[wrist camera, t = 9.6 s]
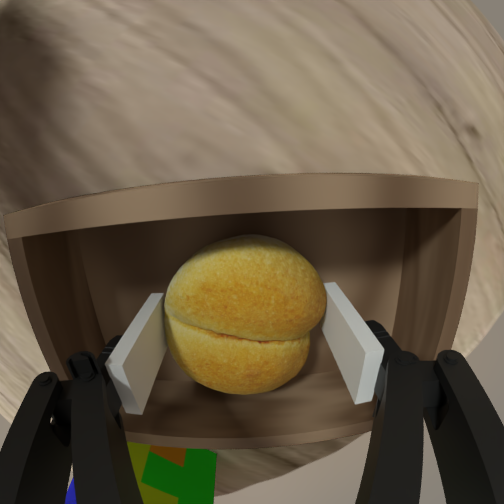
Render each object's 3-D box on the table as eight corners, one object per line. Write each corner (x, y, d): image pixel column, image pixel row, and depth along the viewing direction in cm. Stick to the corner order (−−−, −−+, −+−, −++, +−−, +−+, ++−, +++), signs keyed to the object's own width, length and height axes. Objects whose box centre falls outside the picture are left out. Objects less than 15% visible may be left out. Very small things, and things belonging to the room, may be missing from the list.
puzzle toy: (90, 437, 22) (61, 505, 12) (125, 403, 20) (88, 494, 11) (166, 478, 24) (153, 545, 14) (216, 453, 22) (211, 540, 13)
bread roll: (334, 248, 15) (362, 274, 11) (288, 376, 17) (297, 420, 14) (182, 213, 14) (160, 229, 10) (163, 353, 17) (146, 395, 13)
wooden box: (112, 381, 19) (85, 433, 14) (65, 198, 15) (3, 215, 10) (392, 364, 19) (424, 414, 14) (415, 175, 15) (478, 183, 10)
